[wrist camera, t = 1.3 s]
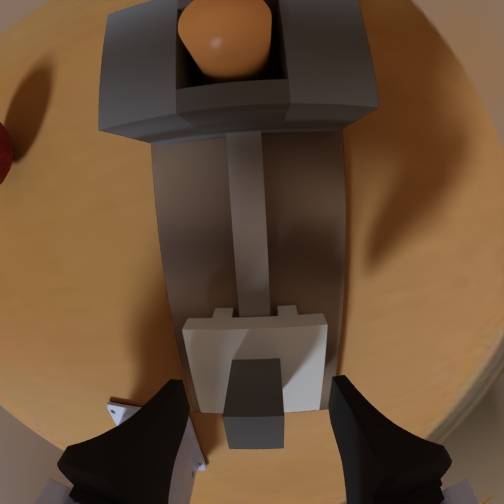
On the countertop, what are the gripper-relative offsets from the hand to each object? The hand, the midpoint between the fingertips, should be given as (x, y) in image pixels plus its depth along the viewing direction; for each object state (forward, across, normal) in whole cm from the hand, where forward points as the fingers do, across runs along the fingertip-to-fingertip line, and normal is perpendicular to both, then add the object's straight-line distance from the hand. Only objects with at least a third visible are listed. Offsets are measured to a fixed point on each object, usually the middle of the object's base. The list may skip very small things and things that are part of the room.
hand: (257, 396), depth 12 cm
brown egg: (+1, 0, -14) cm, 14 cm away
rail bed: (+6, 0, -5) cm, 8 cm away
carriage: (+4, 0, 0) cm, 4 cm away
